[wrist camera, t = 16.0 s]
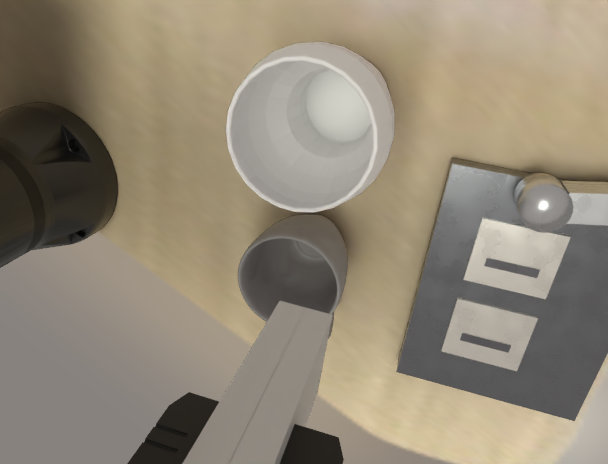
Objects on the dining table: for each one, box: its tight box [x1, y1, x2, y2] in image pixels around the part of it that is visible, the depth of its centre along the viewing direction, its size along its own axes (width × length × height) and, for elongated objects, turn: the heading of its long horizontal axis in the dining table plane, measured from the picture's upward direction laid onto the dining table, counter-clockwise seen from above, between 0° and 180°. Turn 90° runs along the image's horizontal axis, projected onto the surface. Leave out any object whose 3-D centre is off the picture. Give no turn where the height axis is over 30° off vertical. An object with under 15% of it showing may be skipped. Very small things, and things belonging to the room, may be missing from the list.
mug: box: [238, 214, 348, 339], centre depth 45 cm, size 12×9×10 cm
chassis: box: [397, 158, 608, 421], centre depth 45 cm, size 17×22×2 cm
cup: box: [226, 42, 395, 213], centre depth 37 cm, size 11×11×15 cm
